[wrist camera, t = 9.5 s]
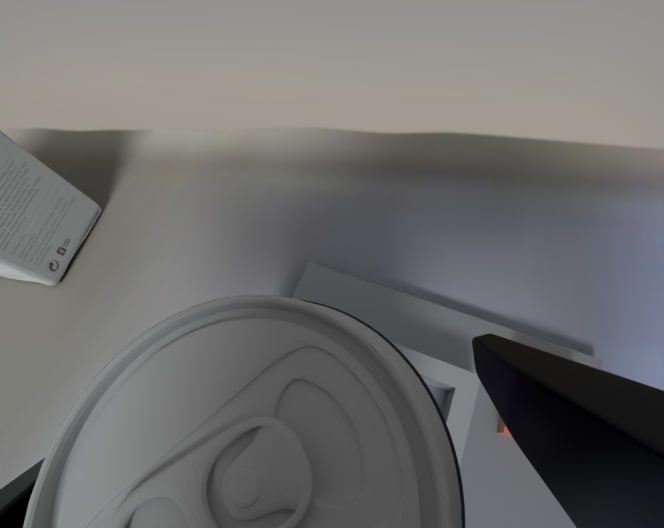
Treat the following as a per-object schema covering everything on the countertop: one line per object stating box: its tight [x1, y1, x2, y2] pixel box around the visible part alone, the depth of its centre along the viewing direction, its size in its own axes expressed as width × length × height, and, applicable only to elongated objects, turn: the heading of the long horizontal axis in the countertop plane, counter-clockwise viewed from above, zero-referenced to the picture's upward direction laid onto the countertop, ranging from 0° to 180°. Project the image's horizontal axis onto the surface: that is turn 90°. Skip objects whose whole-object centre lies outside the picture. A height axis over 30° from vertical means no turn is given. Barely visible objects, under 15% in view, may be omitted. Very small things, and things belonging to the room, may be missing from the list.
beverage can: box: [23, 295, 465, 528], centre depth 9 cm, size 6×6×12 cm
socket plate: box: [291, 261, 602, 528], centre depth 14 cm, size 14×13×2 cm
